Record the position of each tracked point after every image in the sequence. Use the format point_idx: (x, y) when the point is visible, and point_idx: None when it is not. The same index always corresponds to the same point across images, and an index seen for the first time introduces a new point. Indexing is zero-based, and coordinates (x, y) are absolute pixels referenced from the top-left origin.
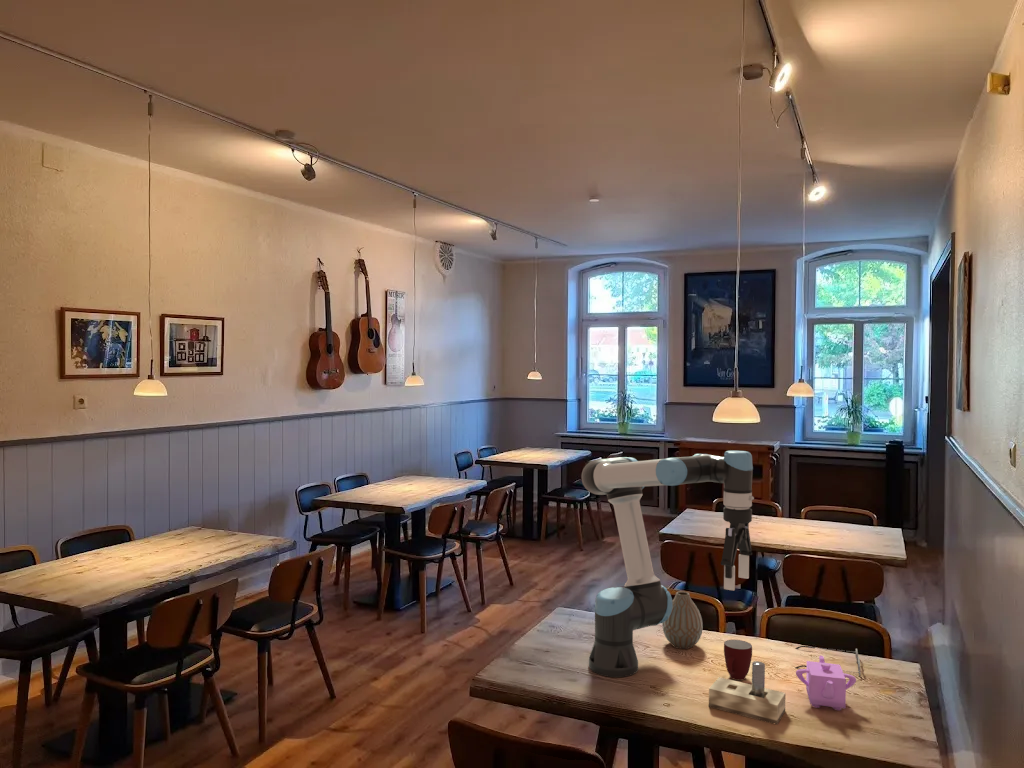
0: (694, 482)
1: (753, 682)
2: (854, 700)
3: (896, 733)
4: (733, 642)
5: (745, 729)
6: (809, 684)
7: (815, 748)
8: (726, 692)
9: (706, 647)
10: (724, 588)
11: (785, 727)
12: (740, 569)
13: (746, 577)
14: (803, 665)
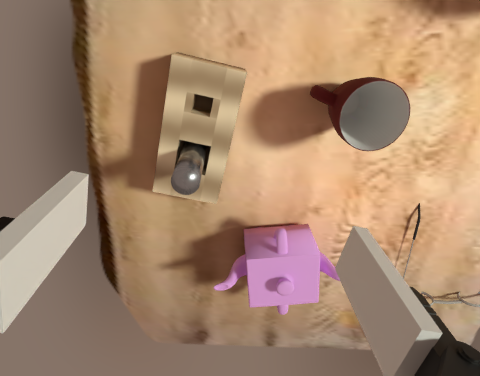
0: None
1: (180, 157)
2: None
3: (207, 317)
4: (404, 102)
5: (114, 128)
6: (262, 243)
7: (106, 228)
8: (167, 95)
9: None
10: (69, 175)
11: None
12: (366, 263)
13: (339, 266)
14: (419, 220)
